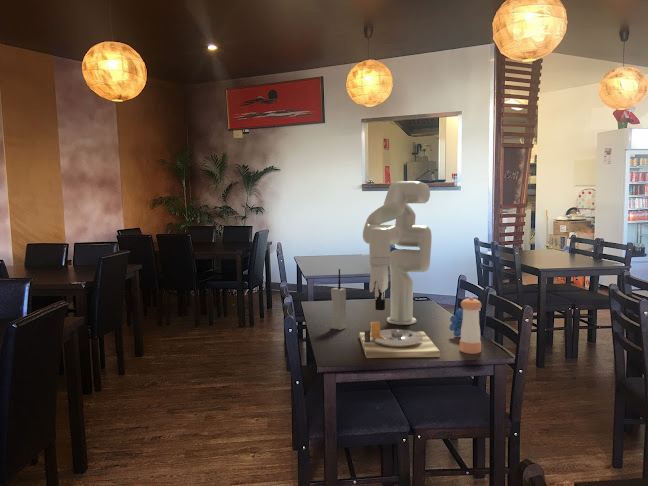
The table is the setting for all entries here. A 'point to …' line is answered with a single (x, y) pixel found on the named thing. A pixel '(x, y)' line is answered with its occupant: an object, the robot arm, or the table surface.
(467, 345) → the pepper shaker
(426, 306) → the table surface
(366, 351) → the base board
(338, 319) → the vintage mobile phone
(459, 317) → the grapes
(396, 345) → the flange
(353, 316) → the table surface
